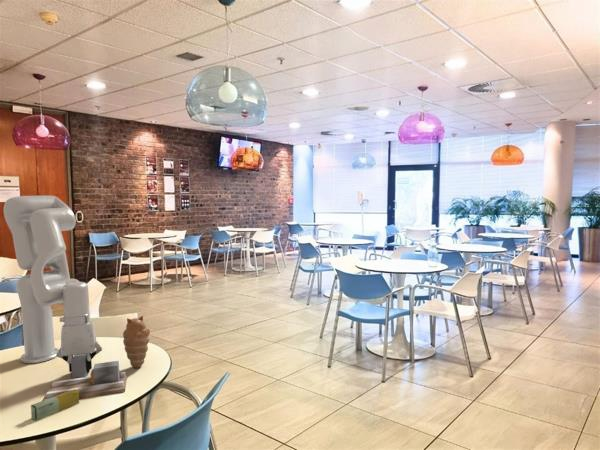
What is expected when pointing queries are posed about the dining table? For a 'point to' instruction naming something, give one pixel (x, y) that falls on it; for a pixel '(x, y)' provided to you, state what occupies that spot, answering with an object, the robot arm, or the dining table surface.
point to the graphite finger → (79, 366)
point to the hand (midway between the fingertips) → (80, 371)
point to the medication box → (54, 404)
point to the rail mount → (93, 382)
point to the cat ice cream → (136, 341)
